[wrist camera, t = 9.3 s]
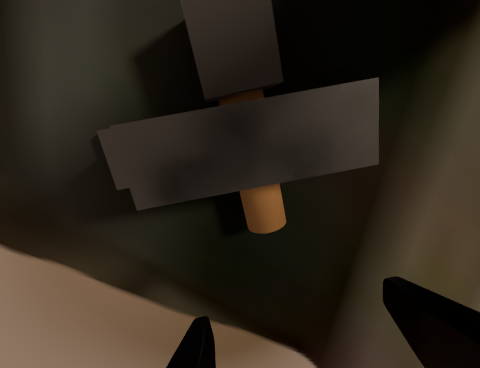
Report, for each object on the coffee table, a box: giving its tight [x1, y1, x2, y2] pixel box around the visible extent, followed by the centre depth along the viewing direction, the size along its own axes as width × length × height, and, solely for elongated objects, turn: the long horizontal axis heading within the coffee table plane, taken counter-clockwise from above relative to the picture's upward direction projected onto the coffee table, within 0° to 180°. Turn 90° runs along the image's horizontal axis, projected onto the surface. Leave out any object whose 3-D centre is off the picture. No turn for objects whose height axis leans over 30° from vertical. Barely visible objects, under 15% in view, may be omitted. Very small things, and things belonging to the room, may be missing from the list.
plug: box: [180, 0, 286, 233], centre depth 15 cm, size 14×4×4 cm, turn 13°
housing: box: [97, 77, 379, 211], centre depth 14 cm, size 18×4×6 cm, turn 100°
